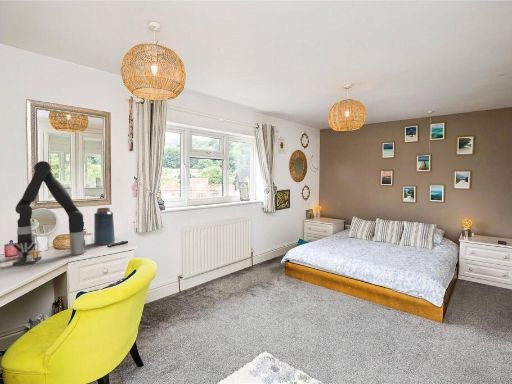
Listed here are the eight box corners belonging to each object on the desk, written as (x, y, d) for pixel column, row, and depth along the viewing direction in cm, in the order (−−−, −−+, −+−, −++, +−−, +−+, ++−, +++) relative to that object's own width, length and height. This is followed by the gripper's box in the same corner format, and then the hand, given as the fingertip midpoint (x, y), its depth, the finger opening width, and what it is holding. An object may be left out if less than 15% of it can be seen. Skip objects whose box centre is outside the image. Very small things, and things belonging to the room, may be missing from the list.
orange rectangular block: (38, 257, 189) (38, 250, 189) (36, 259, 186) (35, 251, 185) (31, 258, 188) (30, 251, 188) (28, 259, 184) (28, 252, 184)
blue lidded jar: (97, 241, 245) (96, 207, 243) (117, 240, 249) (116, 207, 247) (91, 246, 229) (89, 209, 227) (112, 244, 233) (110, 209, 231)
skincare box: (25, 258, 195) (23, 237, 194) (17, 257, 196) (16, 236, 195) (36, 254, 203) (35, 234, 202) (29, 254, 205) (28, 234, 204)
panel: (42, 258, 193) (41, 250, 193) (33, 264, 182) (33, 255, 181) (22, 260, 190) (21, 251, 190) (12, 265, 178) (11, 256, 178)
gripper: (38, 231, 190) (39, 255, 191) (16, 232, 186) (17, 256, 187) (33, 233, 182) (34, 258, 183) (9, 234, 179) (10, 259, 180)
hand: (25, 257), depth 185 cm, fingers closed
